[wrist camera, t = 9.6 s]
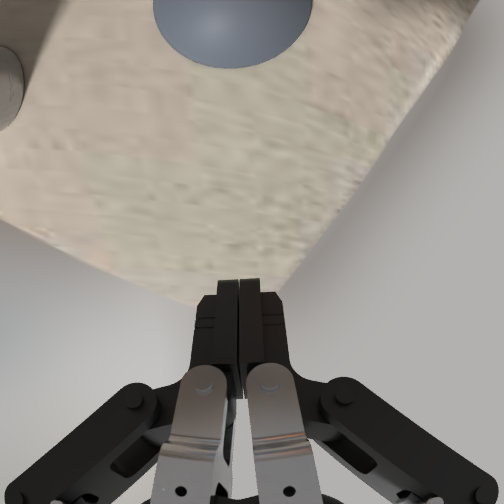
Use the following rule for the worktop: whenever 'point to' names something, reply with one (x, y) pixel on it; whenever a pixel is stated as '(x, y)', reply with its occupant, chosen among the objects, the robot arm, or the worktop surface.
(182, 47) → the disc
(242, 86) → the worktop surface
